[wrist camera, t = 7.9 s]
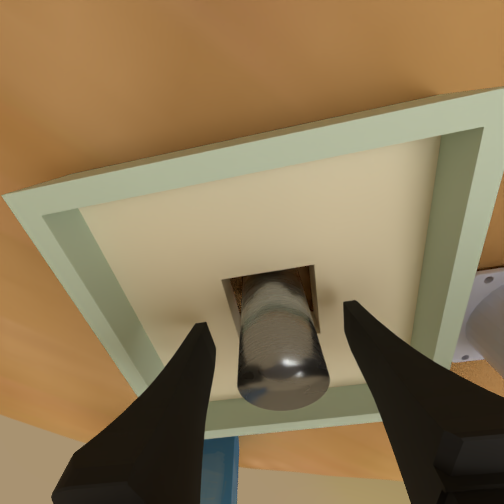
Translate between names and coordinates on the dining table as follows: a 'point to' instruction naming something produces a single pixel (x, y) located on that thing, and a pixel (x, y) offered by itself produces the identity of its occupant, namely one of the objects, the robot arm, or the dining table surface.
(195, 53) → the dining table surface
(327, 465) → the dining table surface
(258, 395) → the peg
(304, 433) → the dining table surface
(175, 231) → the box
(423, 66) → the dining table surface
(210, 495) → the perfume bottle
